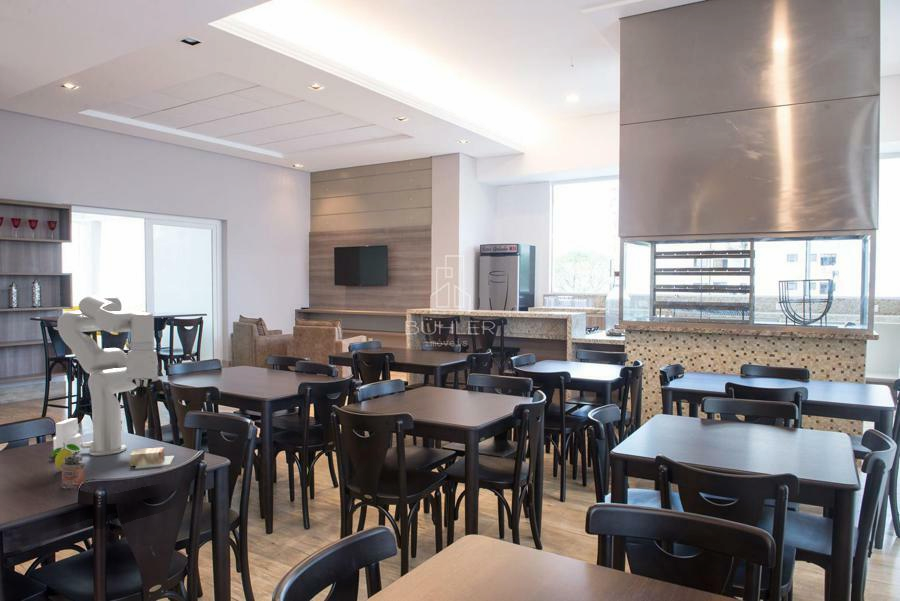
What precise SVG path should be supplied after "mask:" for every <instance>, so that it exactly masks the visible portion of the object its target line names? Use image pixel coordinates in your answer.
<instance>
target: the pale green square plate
mask: <svg viewBox="0 0 900 601" xmlns="http://www.w3.org/2000/svg"><path fill="white" fill-rule="evenodd" d="M164 457H165V458H164V460H163V461H162V463H159V464H148V465H137V466H135V469H146V468H148V469H149V468H157V467H167V466H168V467H169V466H171V465H172V462H173V461H174V458H175V455H169V456H168V455H164Z"/></svg>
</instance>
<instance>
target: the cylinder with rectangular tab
mask: <svg viewBox="0 0 900 601" xmlns="http://www.w3.org/2000/svg"><path fill="white" fill-rule="evenodd" d="M78 422H79V420H78V417H73V418H68V419H65V420H62V421H60V422H57V423H55V436H53V439H52V440H53V441H52V442H53V451H54V450H55V449H57V448H62V447H63V448H62V449H64V446H65V449H67V450H70V449H68V448H67V446H66V445H68V444H74V445H76V446H78V447H79V449H80V450H77V451H75V450H70V451H71V452H72V453H73V454H76V453H75V452H77V453H79V452H81V451H82V448H81V443H82V434H81V433H79V424H78ZM63 442H64V444H65V445H64V444H63ZM62 449H61V450H62ZM61 450H60V451H61ZM78 451H79V452H78Z"/></svg>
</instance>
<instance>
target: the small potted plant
mask: <svg viewBox="0 0 900 601" xmlns="http://www.w3.org/2000/svg"><path fill="white" fill-rule="evenodd" d="M64 458H65V463H61V467H62V469H61V488H62V487H65V488H64V489H67V488H74V489H73V490H79V489H78V488H79V486H80V484H81V483H82V482H84V481H86V480H85V463H84V462H82V461H83V457H82V456H77V455H74V454H73V455H72V456H66V457H64Z"/></svg>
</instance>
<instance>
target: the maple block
mask: <svg viewBox="0 0 900 601" xmlns="http://www.w3.org/2000/svg"><path fill="white" fill-rule="evenodd" d="M164 456H165V447H164V446H163V447H161V446H158V447H151V448H150V447H149V448H138V449H133V450H132V452H131V453H130V454H129V466H130V467H134V466H135V467H136V466H137V465H148V464H159V463H162V461H163V460H164V458H165V457H164Z"/></svg>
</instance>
